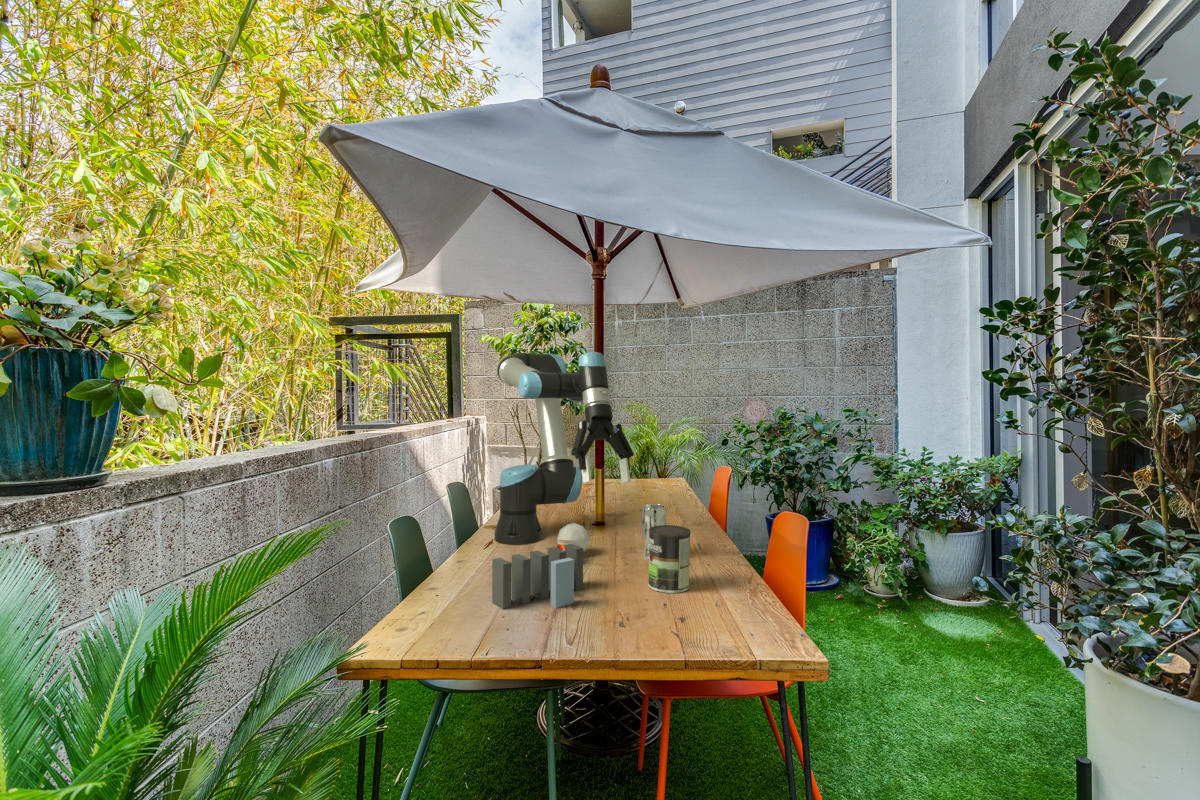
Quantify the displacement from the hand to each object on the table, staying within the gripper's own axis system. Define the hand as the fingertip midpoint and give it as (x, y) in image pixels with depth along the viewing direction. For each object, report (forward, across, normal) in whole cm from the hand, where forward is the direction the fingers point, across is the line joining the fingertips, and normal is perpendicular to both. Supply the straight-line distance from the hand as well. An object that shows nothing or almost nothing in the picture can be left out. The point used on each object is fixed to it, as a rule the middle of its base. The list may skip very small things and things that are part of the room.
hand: (607, 482), depth 158 cm
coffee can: (+28, +7, -10) cm, 31 cm away
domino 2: (+27, -27, +4) cm, 38 cm away
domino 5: (+29, -21, -4) cm, 36 cm away
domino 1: (+27, -32, +4) cm, 42 cm away
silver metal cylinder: (+20, +21, +8) cm, 30 cm away
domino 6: (+25, -12, +4) cm, 28 cm away
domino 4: (+26, -17, +4) cm, 31 cm away
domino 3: (+26, -22, +4) cm, 35 cm away
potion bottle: (+18, +2, +22) cm, 28 cm away
